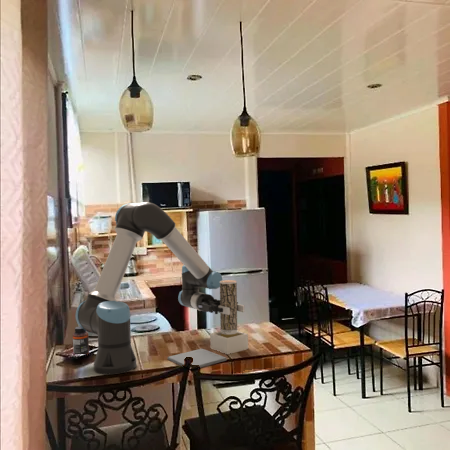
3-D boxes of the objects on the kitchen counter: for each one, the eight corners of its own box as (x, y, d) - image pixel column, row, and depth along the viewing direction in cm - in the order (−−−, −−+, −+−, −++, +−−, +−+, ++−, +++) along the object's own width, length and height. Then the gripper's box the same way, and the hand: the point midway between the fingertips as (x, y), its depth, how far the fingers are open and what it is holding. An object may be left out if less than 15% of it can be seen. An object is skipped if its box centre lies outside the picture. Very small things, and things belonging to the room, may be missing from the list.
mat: (190, 370, 166) (190, 367, 166) (167, 359, 179) (167, 356, 179) (226, 360, 176) (226, 357, 176) (202, 350, 189) (202, 348, 188)
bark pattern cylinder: (235, 345, 187) (234, 282, 186) (219, 344, 188) (218, 282, 187) (238, 340, 193) (237, 280, 193) (222, 340, 195) (221, 279, 194)
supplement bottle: (82, 352, 191) (81, 324, 191) (92, 354, 188) (91, 326, 187) (70, 356, 186) (69, 328, 186) (80, 358, 183) (79, 329, 182)
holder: (227, 354, 183) (226, 339, 183) (210, 348, 192) (210, 333, 191) (248, 348, 190) (247, 334, 190) (231, 343, 198) (231, 329, 198)
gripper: (221, 307, 211) (255, 315, 192) (184, 313, 199) (216, 323, 180) (220, 290, 210) (254, 297, 192) (183, 296, 198) (216, 303, 180)
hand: (236, 310), depth 186 cm, fingers closed on bark pattern cylinder, 7 cm apart
